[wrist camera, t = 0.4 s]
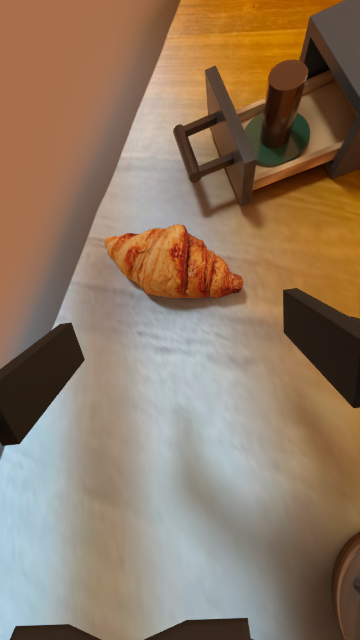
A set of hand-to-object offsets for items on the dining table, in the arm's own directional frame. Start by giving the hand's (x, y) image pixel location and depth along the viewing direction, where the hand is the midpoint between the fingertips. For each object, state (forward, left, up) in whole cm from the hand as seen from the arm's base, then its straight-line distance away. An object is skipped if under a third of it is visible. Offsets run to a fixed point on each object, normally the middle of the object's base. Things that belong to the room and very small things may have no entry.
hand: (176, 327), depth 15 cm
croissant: (+12, +1, -18) cm, 22 cm away
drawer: (+24, -17, -16) cm, 34 cm away
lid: (+24, -18, -15) cm, 34 cm away
